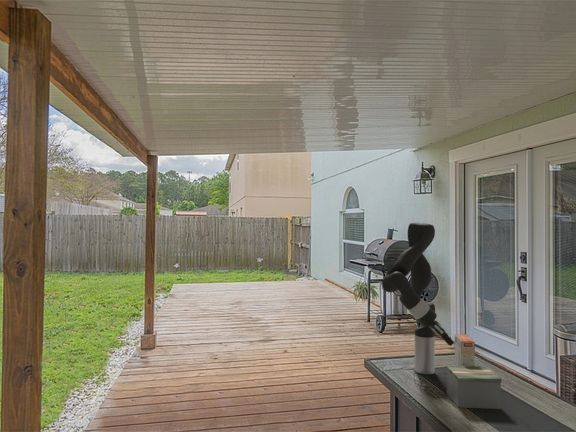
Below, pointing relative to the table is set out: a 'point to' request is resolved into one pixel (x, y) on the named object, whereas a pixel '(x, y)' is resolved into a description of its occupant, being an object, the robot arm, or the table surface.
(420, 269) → the robot arm
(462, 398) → the block
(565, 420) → the table surface
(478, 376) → the lid
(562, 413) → the table surface
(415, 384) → the table surface
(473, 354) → the cracker box
